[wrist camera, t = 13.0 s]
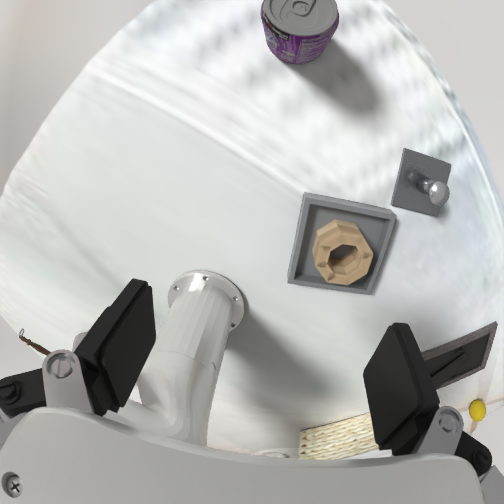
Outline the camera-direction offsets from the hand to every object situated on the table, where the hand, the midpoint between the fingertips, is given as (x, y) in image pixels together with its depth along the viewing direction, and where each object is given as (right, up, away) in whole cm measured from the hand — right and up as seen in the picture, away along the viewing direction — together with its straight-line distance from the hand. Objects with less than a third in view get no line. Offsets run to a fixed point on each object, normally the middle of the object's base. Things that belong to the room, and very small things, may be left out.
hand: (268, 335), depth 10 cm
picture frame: (+45, -21, +38) cm, 63 cm away
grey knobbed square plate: (+23, +13, +23) cm, 34 cm away
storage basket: (+25, -44, +52) cm, 72 cm away
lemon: (+66, -41, +45) cm, 90 cm away
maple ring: (+11, +4, +28) cm, 30 cm away
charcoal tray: (+11, +4, +28) cm, 31 cm away
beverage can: (+5, +29, +17) cm, 34 cm away
